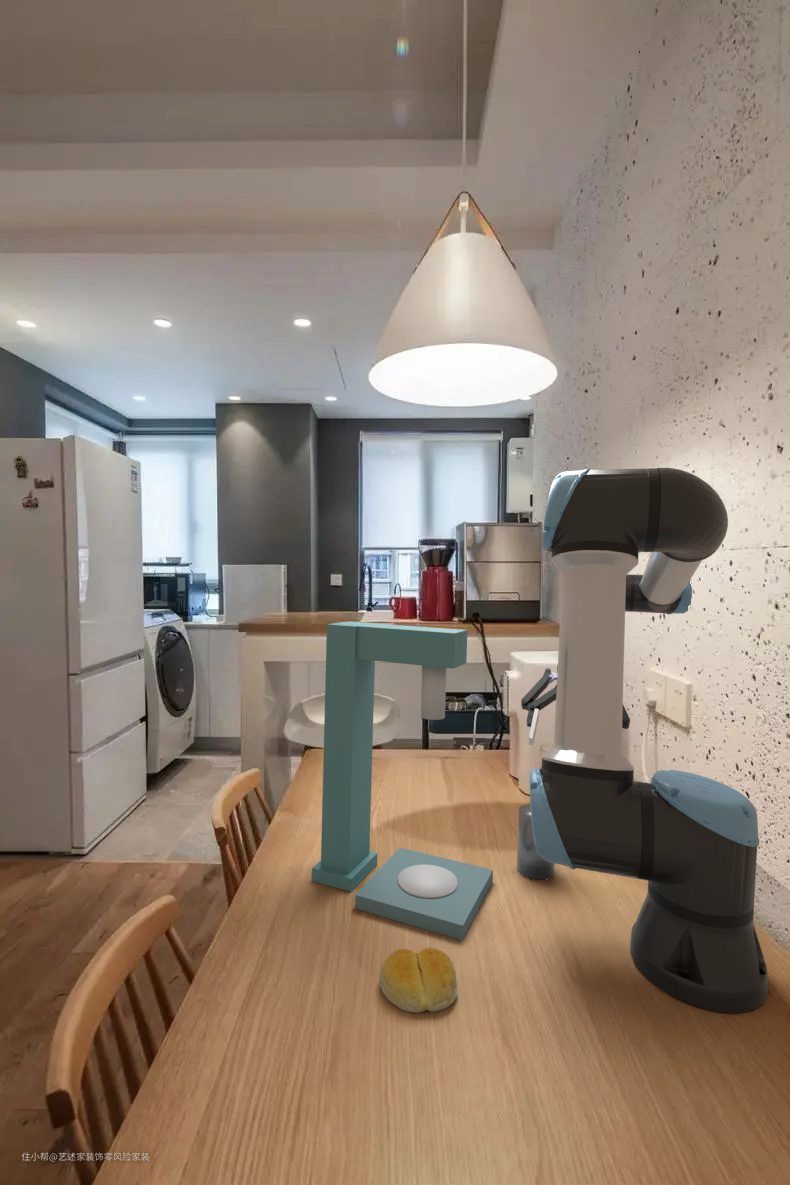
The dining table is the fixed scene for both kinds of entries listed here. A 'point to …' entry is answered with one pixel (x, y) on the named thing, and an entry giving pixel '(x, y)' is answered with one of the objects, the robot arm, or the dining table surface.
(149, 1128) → the dining table surface
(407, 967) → the bread roll
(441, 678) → the arbor press
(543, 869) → the cylinder
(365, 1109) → the dining table surface
